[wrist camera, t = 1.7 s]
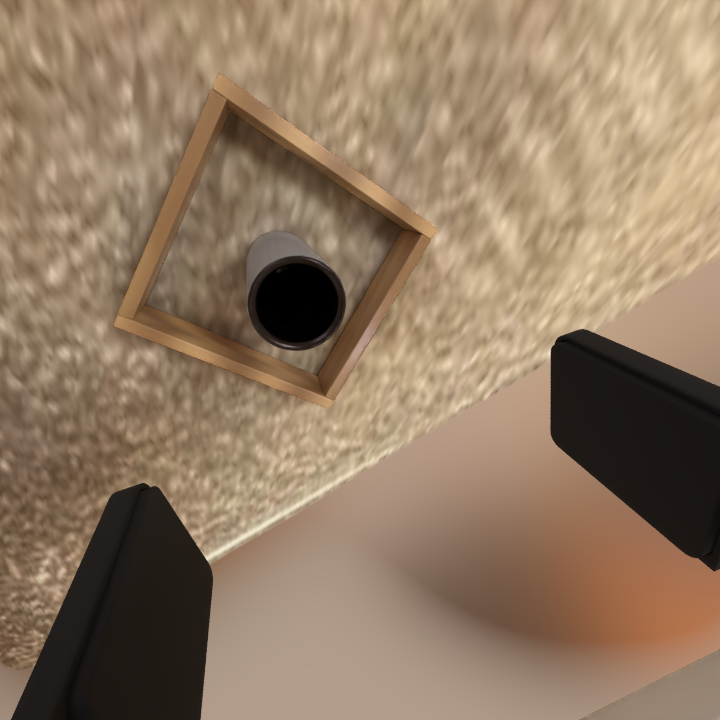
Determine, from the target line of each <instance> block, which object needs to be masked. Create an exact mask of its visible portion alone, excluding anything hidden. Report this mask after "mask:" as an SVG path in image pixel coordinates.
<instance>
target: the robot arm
mask: <svg viewBox="0 0 720 720" xmlns="http://www.w3.org/2000/svg"><path fill="white" fill-rule="evenodd" d="M551 436H552V439H553V441H554V442H555V444H556V445H557V446H558V447H559V448H560V449H562V450H563V451H564V452H565V453H566V454H567V455H569V456H570V457H571V458H572V459H574V460H575V461H576V462H577V463H578V464H579V465H581V466H582V467H583V468H584V469H585V470H586V471H588V472H589V473H590V474H591V475H592V476H594V477H595V478H596V479H597V480H598V481H599V482H601V483H602V484H603V485H604V486H605V487H607V488H608V489H609V490H610V491H612V492H613V493H614V494H615V495H616V496H617V497H618V498H620V499H621V500H622V501H623V502H624V503H625V504H627V505H628V506H629V507H630V508H631V509H633V510H634V511H635V512H636V513H637V514H638V515H640V516H641V517H642V518H643V519H644V520H646V521H647V522H648V523H649V524H650V525H652V526H653V527H654V528H655V529H656V530H658V531H659V532H660V533H661V534H662V535H664V536H665V537H666V538H667V539H668V540H669V541H670V542H672V543H673V544H674V545H675V546H676V547H678V548H679V549H680V550H681V551H683V552H684V553H685V554H687V555H689V556H691V557H694V558H698V559H700V560H701V561H702V562H703V563H704V564H706V565H707V566H708V567H709V568H710V569H712V570H713V571H716V570H718V569H720V387H719V386H717V385H714V384H712V383H710V382H707V381H705V380H703V379H700V378H698V377H696V376H693V375H691V374H689V373H686V372H684V371H682V370H679V369H677V368H675V367H672V366H670V365H668V364H665V363H663V362H660V361H658V360H656V359H654V358H651V357H649V356H647V355H644V354H642V353H640V352H637V351H635V350H633V349H630V348H628V347H626V346H623V345H621V344H619V343H616V342H614V341H612V340H609V339H607V338H605V337H602V336H600V335H598V334H595V333H593V332H591V331H588V330H585V329H580V330H577V331H574V332H571V333H568V334H565V335H563V336H560V337H558V338H557V340H556V342H555V345H554V346H552V348H551ZM212 586H213V576H212V570H211V568H210V565H209V563H208V562H207V560H206V559H205V557H204V556H203V554H202V552H201V551H200V549H199V548H198V546H197V545H196V543H195V542H194V540H193V539H192V537H191V536H190V534H189V533H188V531H187V530H186V528H185V527H184V525H183V524H182V522H181V520H180V519H179V517H178V516H177V514H176V513H175V511H174V510H173V508H172V507H171V505H170V504H169V502H168V501H167V499H166V498H165V496H164V495H163V493H162V492H161V490H160V489H159V488H158V487H156V486H153V487H149V485H147V484H145V483H141V484H138V485H135V486H132V487H129V488H126V489H124V490H121V491H118V492H115V493H114V494H112V495H111V497H110V498H109V501H108V503H107V505H106V507H105V510H104V512H103V514H102V516H101V519H100V521H99V523H98V525H97V528H96V530H95V532H94V534H93V537H92V539H91V541H90V543H89V545H88V548H87V550H86V552H85V554H84V557H83V559H82V561H81V563H80V566H79V568H78V570H77V572H76V575H75V577H74V579H73V581H72V584H71V586H70V588H69V590H68V593H67V595H66V597H65V599H64V602H63V604H62V606H61V608H60V611H59V613H58V615H57V617H56V620H55V622H54V624H53V626H52V629H51V631H50V633H49V635H48V638H47V640H46V642H45V644H44V647H43V649H42V651H41V653H40V656H39V658H38V660H37V662H36V665H35V667H34V669H33V672H32V674H31V676H30V678H29V680H28V683H27V685H26V687H25V689H24V692H23V694H22V696H21V698H20V701H19V703H18V705H17V708H16V710H15V712H14V714H13V717H12V719H11V720H200V718H201V707H202V697H203V685H204V675H205V664H206V652H207V641H208V629H209V619H210V608H211V597H212ZM580 720H720V650H718V651H716V652H714V653H712V654H710V655H708V656H706V657H704V658H702V659H700V660H698V661H696V662H694V663H692V664H690V665H687V666H686V667H683V668H681V669H679V670H678V671H675V672H673V673H671V674H669V675H667V676H665V677H663V678H661V679H659V680H657V681H656V682H653V683H652V684H649V685H648V686H645V687H643V688H641V689H639V690H638V691H636V692H634V693H632V694H630V695H628V696H626V697H624V698H622V699H620V700H618V701H616V702H614V703H612V704H610V705H608V706H606V707H604V708H602V709H600V710H598V711H596V712H594V713H592V714H590V715H588V716H586V717H584V718H582V719H580Z"/></svg>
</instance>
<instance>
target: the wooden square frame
mask: <svg viewBox="0 0 720 720" xmlns="http://www.w3.org/2000/svg"><path fill="white" fill-rule="evenodd" d="M229 110H230V111H231V112H233V113H234V114H236V115H237V116H238V117H240V118H241V119H243V120H244V121H246V122H247V123H249V124H250V125H252V126H253V127H255V128H256V129H258V130H259V131H261V132H262V133H264V134H265V135H266V136H268V137H269V138H271V139H272V140H274V141H275V142H277V143H278V144H280V145H281V146H283V147H284V148H286V149H287V150H289V151H290V152H291V153H293V154H294V155H296V156H297V157H299V158H300V159H302V160H303V161H305V162H306V163H308V164H309V165H311V166H312V167H314V168H315V169H317V170H318V171H319V172H321V173H322V174H324V175H325V176H327V177H328V178H330V179H331V180H333V181H334V182H336V183H337V184H339V185H340V186H342V187H343V188H344V189H346V190H347V191H349V192H350V193H352V194H353V195H355V196H356V197H358V198H359V199H361V200H362V201H364V202H365V203H367V204H368V205H370V206H371V207H372V208H374V209H375V210H377V211H378V212H380V213H381V214H383V215H384V216H386V217H387V218H389V219H390V220H392V221H393V222H395V223H396V224H397V225H399V226H400V227H402V228H403V230H402V232H401V234H400V235H399V237H398V239H397V240H396V242H395V244H394V246H393V247H392V249H391V251H390V252H389V254H388V256H387V258H386V259H385V261H384V263H383V264H382V266H381V268H380V270H379V271H378V273H377V275H376V276H375V278H374V280H373V282H372V283H371V285H370V287H369V288H368V290H367V292H366V294H365V295H364V297H363V299H362V300H361V302H360V304H359V306H358V307H357V309H356V311H355V312H354V314H353V316H352V318H351V319H350V321H349V323H348V324H347V326H346V328H345V330H344V331H343V333H342V335H341V336H340V338H339V340H338V342H337V343H336V345H335V347H334V348H333V350H332V352H331V354H330V355H329V357H328V359H327V360H326V362H325V364H324V366H323V367H322V369H321V371H320V372H319V374H318V376H316V375H313V374H311V373H308V372H306V371H304V370H301V369H299V368H297V367H294V366H292V365H289V364H287V363H285V362H282V361H280V360H277V359H275V358H273V357H270V356H268V355H266V354H263V353H261V352H258V351H256V350H254V349H251V348H249V347H246V346H244V345H242V344H239V343H237V342H235V341H232V340H230V339H227V338H225V337H223V336H220V335H218V334H215V333H213V332H211V331H208V330H206V329H204V328H201V327H199V326H196V325H194V324H192V323H189V322H187V321H184V320H182V319H180V318H177V317H175V316H173V315H170V314H168V313H165V312H163V311H161V310H158V309H156V308H153V307H151V306H149V305H146V303H147V300H148V298H149V296H150V294H151V291H152V289H153V287H154V284H155V282H156V280H157V277H158V275H159V273H160V271H161V268H162V266H163V264H164V261H165V259H166V257H167V254H168V252H169V250H170V247H171V245H172V243H173V241H174V238H175V236H176V234H177V231H178V229H179V227H180V224H181V222H182V220H183V217H184V215H185V213H186V211H187V208H188V206H189V204H190V201H191V199H192V197H193V194H194V192H195V190H196V187H197V185H198V183H199V181H200V178H201V176H202V174H203V171H204V169H205V167H206V164H207V162H208V160H209V158H210V155H211V153H212V151H213V148H214V146H215V144H216V141H217V139H218V137H219V134H220V132H221V130H222V128H223V125H224V123H225V121H226V118H227V116H228V114H229ZM437 230H438V229H437V228H436V227H434V226H433V225H432V224H430V223H429V222H427V221H426V220H425V219H423V218H422V217H420V216H419V215H418V214H416V213H415V212H413V211H412V210H411V209H409V208H408V207H406V206H405V205H404V204H402V203H401V202H399V201H398V200H397V199H395V198H394V197H392V196H391V195H390V194H388V193H387V192H385V191H384V190H383V189H381V188H380V187H378V186H377V185H376V184H374V183H373V182H371V181H370V180H369V179H367V178H366V177H364V176H363V175H362V174H360V173H359V172H357V171H356V170H355V169H353V168H352V167H350V166H349V165H348V164H346V163H345V162H343V161H342V160H341V159H339V158H338V157H336V156H335V155H334V154H332V153H331V152H329V151H328V150H327V149H325V148H324V147H322V146H321V145H320V144H318V143H317V142H315V141H314V140H313V139H311V138H310V137H308V136H307V135H306V134H304V133H303V132H301V131H300V130H299V129H297V128H296V127H294V126H293V125H292V124H290V123H289V122H287V121H286V120H285V119H283V118H282V117H280V116H279V115H277V114H276V113H275V112H273V111H272V110H270V109H269V108H268V107H266V106H265V105H263V104H262V103H261V102H259V101H258V100H256V99H255V98H254V97H252V96H251V95H249V94H248V93H247V92H245V91H244V90H242V89H241V88H240V87H238V86H237V85H235V84H234V83H233V82H231V81H230V80H228V79H227V78H226V77H224V76H223V75H221V74H220V73H218V75H217V77H216V79H215V82H214V84H213V87H212V89H211V91H210V94H209V96H208V99H207V101H206V103H205V106H204V108H203V111H202V113H201V115H200V118H199V120H198V123H197V125H196V127H195V130H194V132H193V135H192V137H191V139H190V142H189V144H188V147H187V149H186V151H185V154H184V156H183V159H182V161H181V163H180V166H179V168H178V171H177V173H176V175H175V178H174V180H173V183H172V185H171V187H170V190H169V192H168V195H167V197H166V199H165V202H164V204H163V207H162V209H161V211H160V214H159V216H158V219H157V221H156V223H155V226H154V228H153V231H152V233H151V235H150V238H149V240H148V243H147V245H146V247H145V250H144V252H143V255H142V257H141V259H140V262H139V264H138V267H137V269H136V271H135V274H134V276H133V279H132V281H131V283H130V286H129V288H128V291H127V293H126V295H125V298H124V300H123V303H122V305H121V307H120V310H119V312H118V315H117V317H116V320H115V322H114V324H113V326H114V327H117V328H119V329H122V330H125V331H127V332H130V333H132V334H135V335H138V336H140V337H143V338H145V339H148V340H151V341H153V342H156V343H158V344H161V345H164V346H166V347H169V348H172V349H174V350H177V351H179V352H182V353H185V354H187V355H190V356H192V357H195V358H198V359H200V360H203V361H205V362H208V363H211V364H213V365H216V366H218V367H221V368H224V369H226V370H229V371H231V372H234V373H237V374H239V375H242V376H244V377H247V378H250V379H252V380H255V381H258V382H260V383H263V384H265V385H268V386H271V387H273V388H276V389H278V390H281V391H284V392H286V393H289V394H291V395H294V396H297V397H299V398H302V399H304V400H307V401H310V402H312V403H315V404H317V405H320V406H323V407H325V408H328V409H329V408H330V406H331V405H332V403H333V401H334V400H335V398H336V396H337V395H338V393H339V391H340V390H341V388H342V386H343V385H344V383H345V381H346V380H347V378H348V377H349V375H350V373H351V372H352V370H353V368H354V367H355V365H356V363H357V362H358V360H359V358H360V357H361V355H362V353H363V352H364V350H365V348H366V347H367V345H368V344H369V342H370V340H371V339H372V337H373V335H374V334H375V332H376V330H377V329H378V327H379V325H380V324H381V322H382V320H383V319H384V317H385V315H386V314H387V312H388V311H389V309H390V307H391V306H392V304H393V302H394V301H395V299H396V297H397V296H398V294H399V292H400V291H401V289H402V287H403V286H404V284H405V283H406V281H407V279H408V278H409V276H410V274H411V273H412V271H413V269H414V268H415V266H416V264H417V263H418V261H419V259H420V258H421V256H422V254H423V253H424V251H425V250H426V248H427V246H428V245H429V243H430V241H431V240H432V238H433V237H434V235H435V233H436V232H437Z"/></svg>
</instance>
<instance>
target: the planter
mask: <svg viewBox="0 0 720 720" xmlns="http://www.w3.org/2000/svg"><path fill="white" fill-rule="evenodd" d="M246 277H247V310H248V315H249V318H250V321H251V323H252V325H253V327H254V329H255V330H256V331H257V333H258V334H259V335H260V336H261V337H262V338H263V339H264V340H266V341H267V342H268V343H270V344H272V345H274V346H276V347H278V348H281V349H285V350H292V351H300V350H307V349H311V348H314V347H316V346H318V345H320V344H322V343H324V342H325V341H327V340H328V339H329V338H330V337H331V336H332V335H333V334H334V333H335V332H336V331H337V329H338V328H339V326H340V324H341V322H342V320H343V317H344V314H345V309H346V296H345V291H344V288H343V285H342V283H341V281H340V279H339V277H338V276H337V274H336V273H335V272H334V271H333V270H332V269H331V268H330V267H329V266H328V265H327V264H326V263H325V262H324V261H323V260H322V259H321V258H320V257H319V256H318V255H317V254H316V253H315V252H314V251H313V250H312V249H311V248H310V247H309V246H308V245H307V244H306V243H305V242H304V241H303V240H302V239H301V238H299V237H298V236H296V235H294V234H292V233H289V232H286V231H272V232H268V233H265V234H264V235H262V236H260V237H259V238H258V239H257V240H256V241H255V242H254V243H253V244H252V246H251V248H250V250H249V252H248V255H247V261H246Z"/></svg>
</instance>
